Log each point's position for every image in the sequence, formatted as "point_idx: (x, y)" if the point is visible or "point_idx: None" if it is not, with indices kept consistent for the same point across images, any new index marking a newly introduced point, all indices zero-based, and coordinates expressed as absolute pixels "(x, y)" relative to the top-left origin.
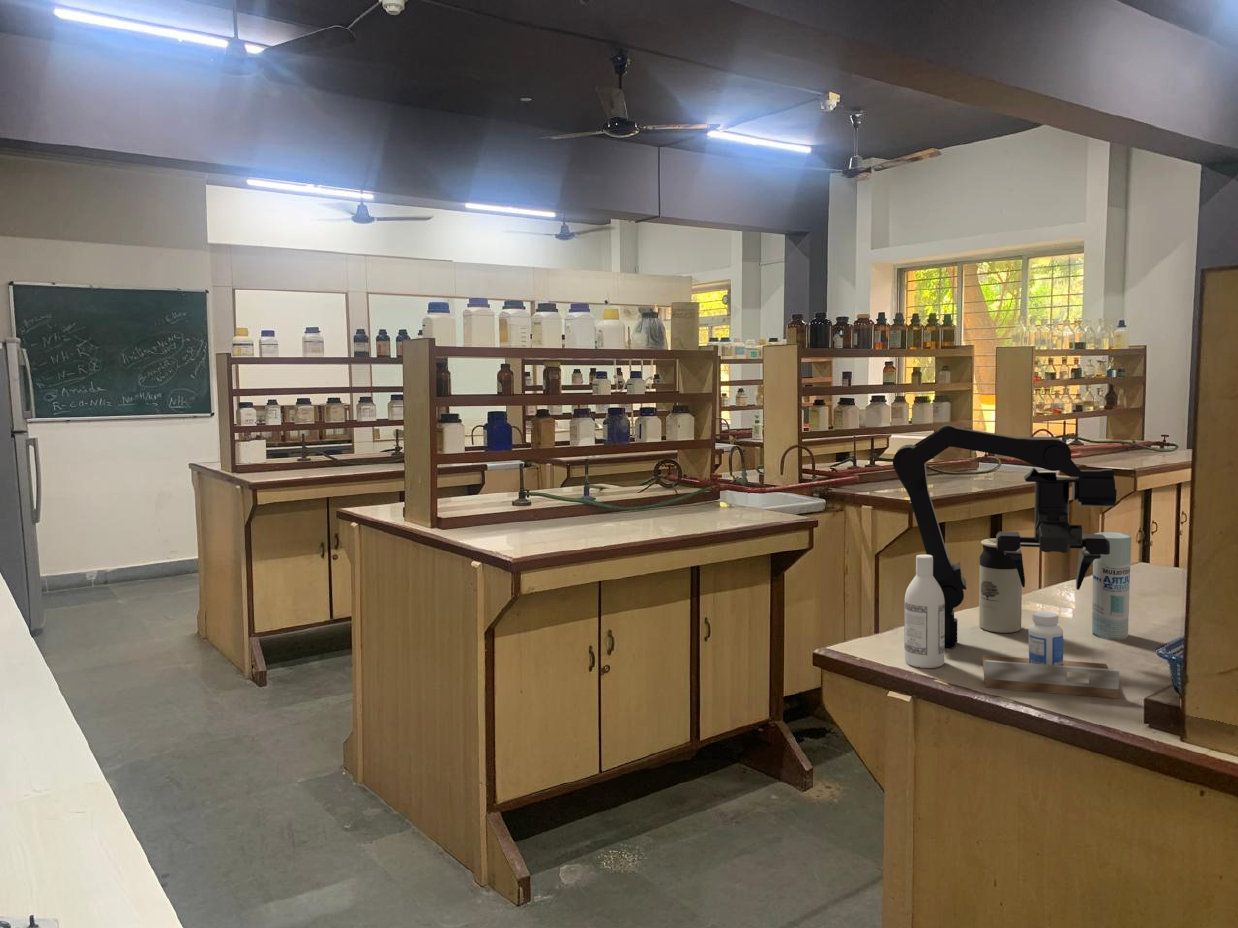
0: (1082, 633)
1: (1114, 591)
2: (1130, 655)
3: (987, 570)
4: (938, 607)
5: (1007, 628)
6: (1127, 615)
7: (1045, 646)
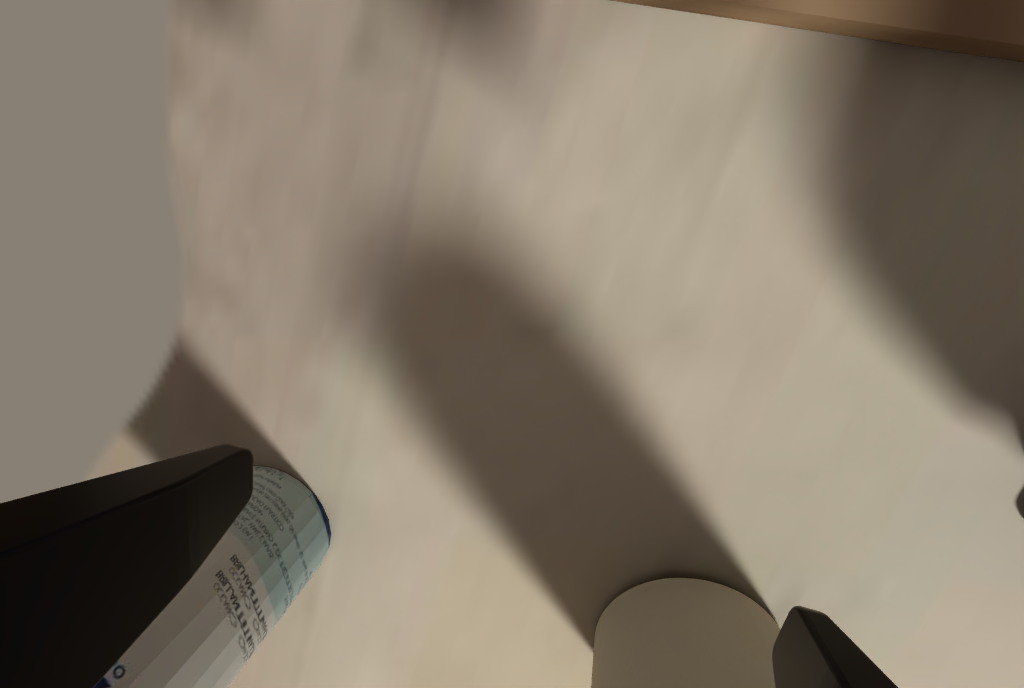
0: (366, 546)
1: None
2: (244, 260)
3: None
4: None
5: (687, 590)
6: None
7: None
